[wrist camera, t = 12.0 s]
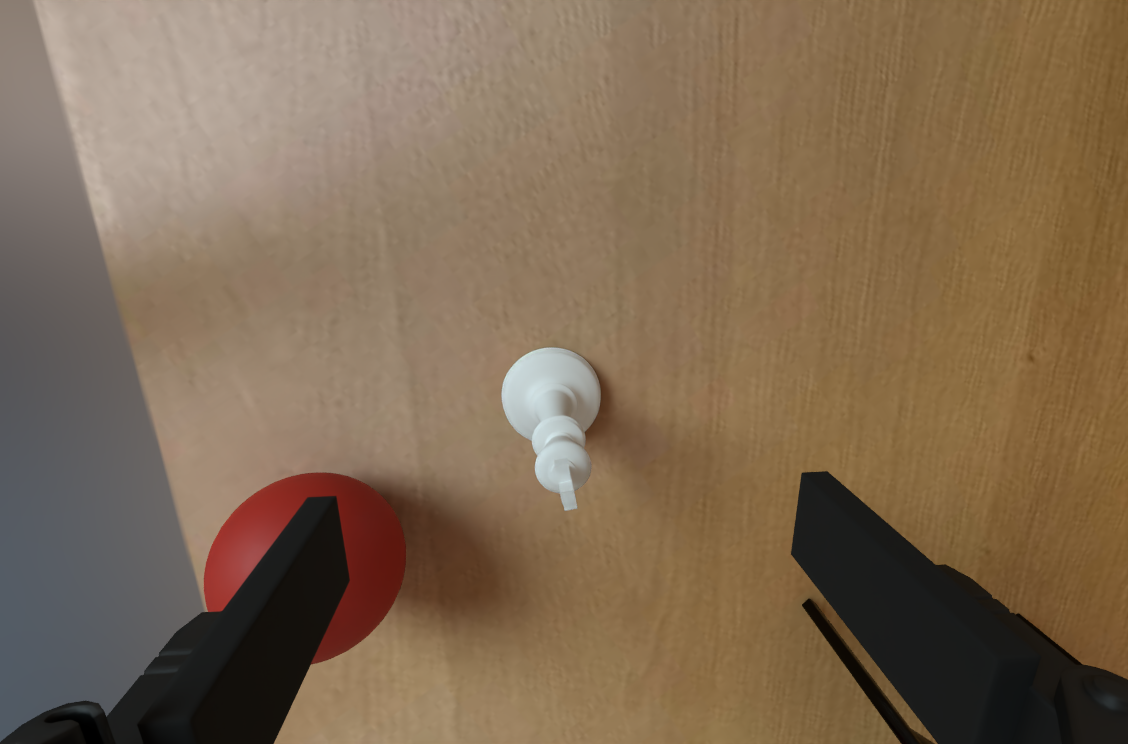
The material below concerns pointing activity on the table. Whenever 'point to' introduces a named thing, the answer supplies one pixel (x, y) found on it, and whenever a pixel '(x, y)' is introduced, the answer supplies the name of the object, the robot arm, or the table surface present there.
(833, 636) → the planter
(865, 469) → the table surface
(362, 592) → the tomato
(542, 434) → the chess piece
